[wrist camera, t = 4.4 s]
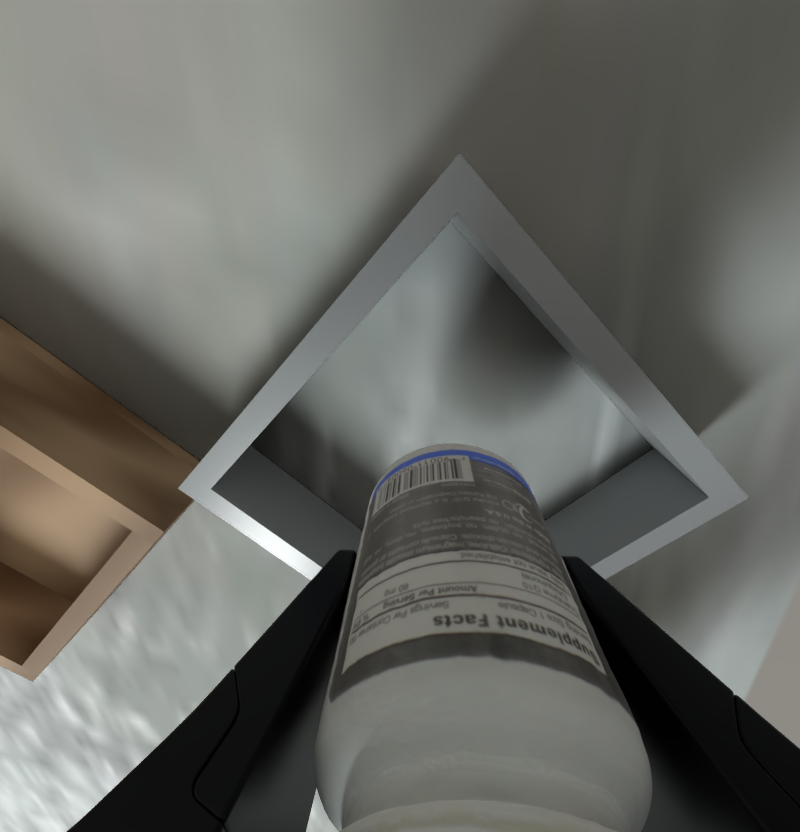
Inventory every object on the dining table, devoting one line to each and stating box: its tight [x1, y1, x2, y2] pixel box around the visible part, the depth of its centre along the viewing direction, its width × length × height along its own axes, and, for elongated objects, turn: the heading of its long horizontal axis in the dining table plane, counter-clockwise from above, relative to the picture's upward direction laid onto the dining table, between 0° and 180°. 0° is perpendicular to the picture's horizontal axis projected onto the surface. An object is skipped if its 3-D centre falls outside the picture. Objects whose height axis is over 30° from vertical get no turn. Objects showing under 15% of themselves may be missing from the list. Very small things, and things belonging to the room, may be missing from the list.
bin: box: [178, 153, 749, 580], centre depth 13 cm, size 13×13×3 cm
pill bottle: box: [314, 444, 652, 832], centre depth 7 cm, size 5×5×8 cm
